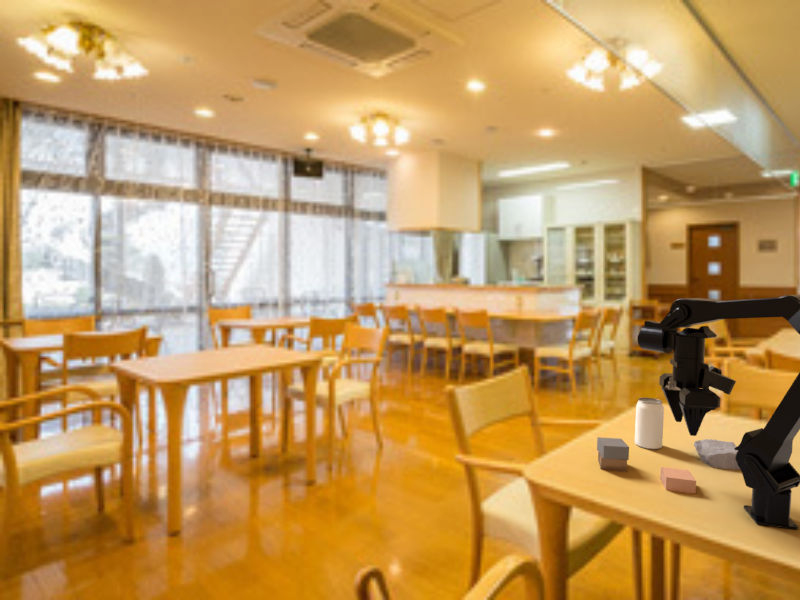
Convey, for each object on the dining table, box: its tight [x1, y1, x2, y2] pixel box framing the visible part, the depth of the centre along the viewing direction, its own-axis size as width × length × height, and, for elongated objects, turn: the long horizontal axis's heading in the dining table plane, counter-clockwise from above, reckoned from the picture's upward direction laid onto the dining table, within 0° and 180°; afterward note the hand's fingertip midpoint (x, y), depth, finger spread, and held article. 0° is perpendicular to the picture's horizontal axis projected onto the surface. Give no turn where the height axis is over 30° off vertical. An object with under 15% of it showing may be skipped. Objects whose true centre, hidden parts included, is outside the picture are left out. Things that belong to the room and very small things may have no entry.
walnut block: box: [597, 451, 628, 473], centre depth 113 cm, size 6×6×3 cm
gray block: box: [596, 436, 630, 461], centre depth 113 cm, size 6×6×3 cm
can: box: [634, 397, 665, 450], centre depth 126 cm, size 6×6×12 cm
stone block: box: [693, 438, 741, 471], centre depth 117 cm, size 12×5×10 cm
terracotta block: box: [659, 466, 697, 494], centre depth 103 cm, size 6×6×3 cm
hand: (685, 428), depth 103 cm, fingers open, 9 cm apart
